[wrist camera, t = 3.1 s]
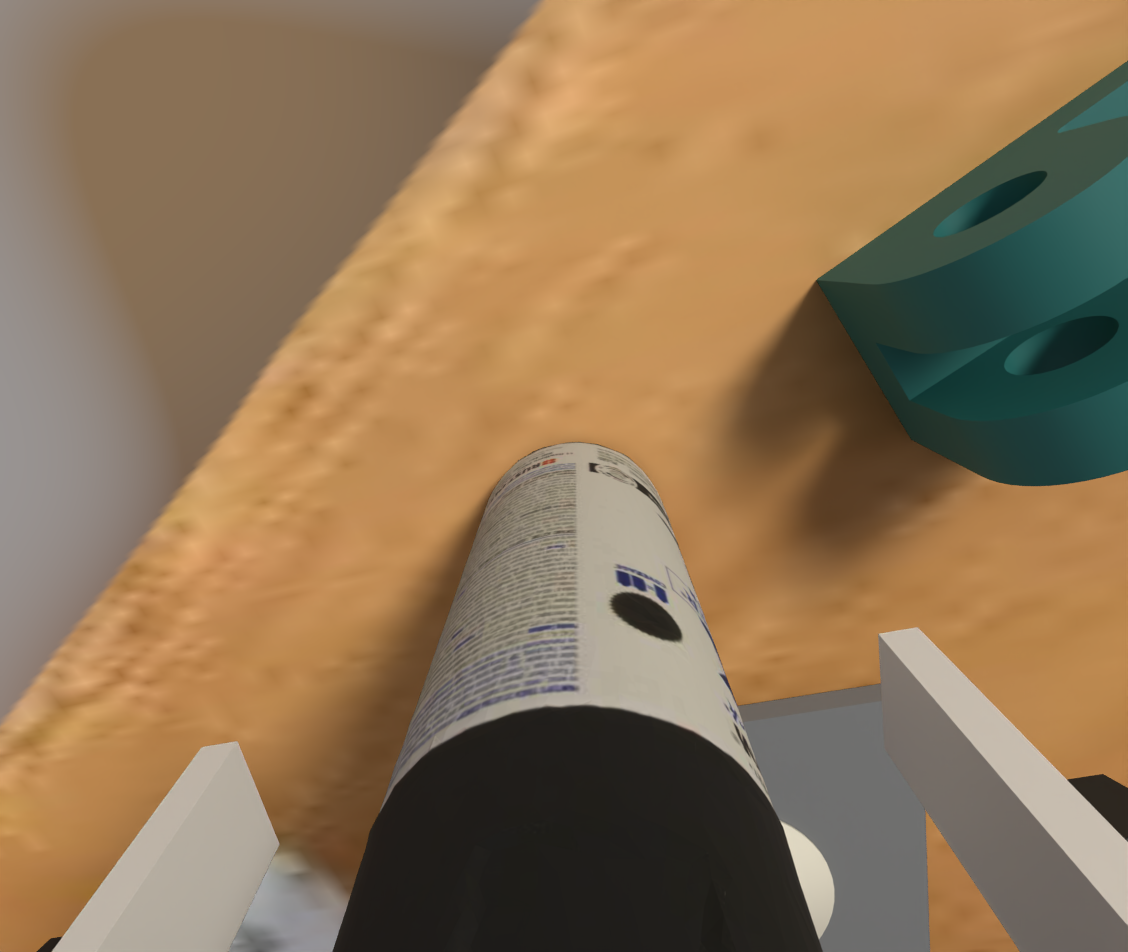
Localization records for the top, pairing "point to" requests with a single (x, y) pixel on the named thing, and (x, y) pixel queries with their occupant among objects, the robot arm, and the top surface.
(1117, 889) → the robot arm
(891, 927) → the mat
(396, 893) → the spray can
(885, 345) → the bracket
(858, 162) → the top surface
